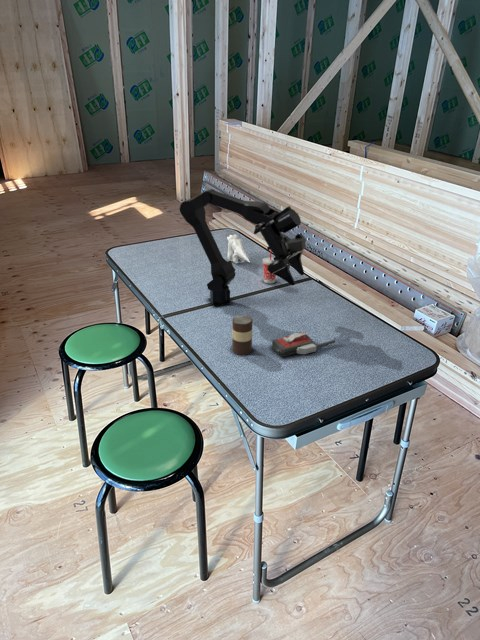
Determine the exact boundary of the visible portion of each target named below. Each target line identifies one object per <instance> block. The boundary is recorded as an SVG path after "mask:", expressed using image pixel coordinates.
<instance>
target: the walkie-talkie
mask: <svg viewBox="0 0 480 640" xmlns="http://www.w3.org/2000/svg"><path fill="white" fill-rule="evenodd" d="M335 343H336V340H335V339H332V340H329V341H326V342H322V343H319V344H317V343H316V344H314V341H313V339H312V338H311V337H310V336H309V335H308V334H305V333H304V332H303V331H299V332H296V333H295V332H294V333H292V334H290V335H287V336H283V337H280V338H275V339H272V341H271V349H273V350H274V351H275V352H276V353H277V355H278V356H280V357H287V356H290V355H294V354H298V355H307V354H311V353H315V352H317V350H318V349H320V348H323V347H326V346H329V345H332V344H335Z"/></svg>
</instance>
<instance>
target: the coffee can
mask: <svg viewBox="0 0 480 640" xmlns="http://www.w3.org/2000/svg"><path fill="white" fill-rule="evenodd" d="M231 321H232V327H231V330H232V331H231V333H232V334H231V337H232V338H231V340H232V341H231V350H232V352H233V353H234V354H236V355H239V356H244V355H245V356H246V355H249V354H250V353H252V350H253V322H254V320H253V318H252V317H251V316H248V315H244V314H240V315H236V316H234V317H233V318H232V320H231Z"/></svg>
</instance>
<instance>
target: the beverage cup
mask: <svg viewBox="0 0 480 640" xmlns="http://www.w3.org/2000/svg"><path fill="white" fill-rule="evenodd" d="M273 258H274V257H272V251H271V249H270V250H269V257H264V258H263V259H262V263H263V264H262V265H263V266H262V267H263V282H264V283H265V284H274V283H276V279H277V275H273V273H272V274H270V273H269V271H268V265H269V264H270V263H271V262H273V261H274V259H273Z"/></svg>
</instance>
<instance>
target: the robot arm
mask: <svg viewBox="0 0 480 640" xmlns="http://www.w3.org/2000/svg"><path fill="white" fill-rule="evenodd" d="M207 205H213V206H216V207H219V208H221V209H224V210H227V211H230V212H232V213H235V214H238V215H240V216H242V218H243V219H244V220H246V221H247V222H250V223H252V224H253V225H254V230H253V234H254V235H257V234H259V233H260V234H261V236H262V237H263V240H264V241H265V242H266V244H267V246H266V250H267V251H270V249H271V254H273V256H274V257H272V258H273V259H274V261H273V262H271V263H270V264H269V265H268V271H269V273H270V274H272V273H273V275H276V277H278V278H280V279H282V281H285V282H287V284H289V285H291V286H295V285H296V282H295V279H294V276H293V274H292V272H291V271H290V267H291V268H293V269H294V270H295V271H296V272H297V273H298V274H299V275H300V276H304V275H305V270H304V267H303V263H302V255H303V252H304V249H306V248H307V244H306V242H307V239H306V237H305V236H304V235H303V234H302V233H297V234H296V235H295V237H293V238H291V239H289V237H288V236H286V235H285V236H284V234H287V233H288V232H290V231H292V230H293V229H295V228H297V227H299V226H300V225H301V224H302V221H301V217H300V215H299V213H298V212H296V210H294V209H293V208H291V206H290V205H288V206H287V207H285V208H284V209H283V210H281V211H278V210H276V209H275V208H272V207H270V206H269V204H268V203H266V202H263V201H256V200H244V199H240V198H238V197H235V196H232V195H230V194H226V193H223V192H220V191H217V190H216V189H214V188H209V189H206V190H204V191H203V192H202V193H200V194H199V195H198V196H196V197H195V196H194V197H191V198H189V199H186V200H184V201H183V202H181V203H180V206H179V208H178V209H179V213H180V215H181V216H182V218H183V219H184V221H185V222H186V223H187V224H188V225H190V226H191V227H192V229H193V230H194V232H195V235H196V236H197V238H198V241H199V242H200V245H201V246H202V249H203V252H204V253H205V255H206V257H207V260H208V261H209V264H210V274H211V277H212V280H210V281H209V282H207V284H206V287H207V290H208V291H209V298H208V301H209V302H210V304H211V305H212V306H213V307H222V306H226V305H227V306H228V305H231V304H232V302H231V301H230V300H231V289H230V286H229V285H230V284H231V282H232V281H233V280H234V279H235V278H236V270H237V269H236V268H235V267H234V264H233V261H231V260H230V261H229V260H226V259H225V258H224V257H223V255H222V253H221V251H220V249H219V247H218V245H217V242H216V240H215V237H214V236H213V233H212V231H211V229H210V228H209V225H208V223H207V221H206V217H207V216H206V209H205V207H206V206H207Z"/></svg>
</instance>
